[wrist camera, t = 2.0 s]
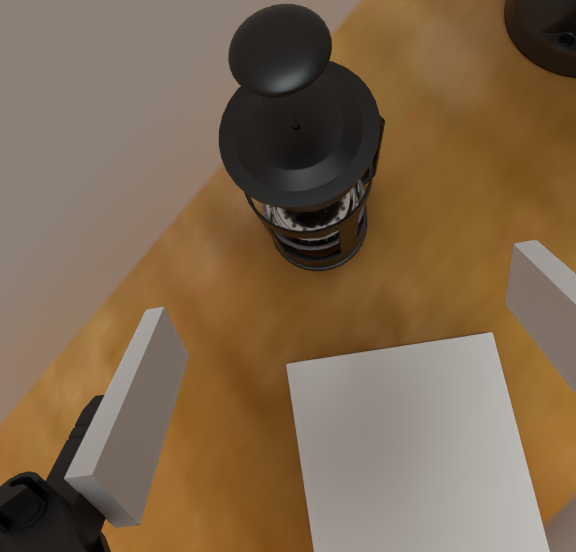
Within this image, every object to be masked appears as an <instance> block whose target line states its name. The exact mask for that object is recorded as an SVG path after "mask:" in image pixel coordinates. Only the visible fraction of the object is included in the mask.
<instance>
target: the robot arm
mask: <svg viewBox="0 0 576 552" xmlns="http://www.w3.org/2000/svg"><path fill="white" fill-rule="evenodd" d="M505 20H506V25H507V28H508V31H509V34H510V36H511V38H512V39H513V41H514V43H515V44H516V45H517V47H518V48H519V49H520V50H521V51H522V52H523V53H524V54H525V55H526V56H527V57H528V58H530V59H531V60H532V61H534V62H535V63H537V64H538V65H540V66H542V67H544V68H546V69H548V70H551V71H553V72H556V73H560V74H563V75H568V76H573V77H576V0H506V3H505ZM505 304H506V305H507V307H508V308H509V309H510V310H511V312H512V313H513V314H514V316H515V317H516V318H517V319H518V321H519V322H520V323H521V325H522V326H523V327H524V328H525V330H526V331H527V332H528V334H529V335H530V336H531V337H532V339H533V340H534V341H535V343H536V344H537V345H538V346H539V348H540V349H541V350H542V352H543V353H544V354H545V355H546V357H547V358H548V359H549V361H550V362H551V363H552V364H553V366H554V367H555V368H556V370H557V371H558V372H559V373H560V375H561V376H562V377H563V379H564V380H565V381H566V382H567V384H568V385H569V386H570V388H571V389H572V390H573V391H574V393H575V394H576V274H575V273H574V272H573V271H572V270H571V269H569V268H568V267H567V266H566V265H565V264H564V263H563V262H561V261H560V260H559V259H558V258H557V257H556V256H555V255H553V254H552V253H551V252H550V251H549V250H548V249H546V248H545V247H544V246H543V245H542V244H541V243H540V242H538V241H537V240H531V241H526V242H520V243H515V244H513V251H512V258H511V265H510V273H509V280H508V288H507V295H506V302H505ZM188 358H189V354H188V352H187V350H186V348H185V346H184V344H183V342H182V340H181V338H180V336H179V334H178V332H177V331H176V329H175V327H174V325H173V323H172V321H171V319H170V317H169V315H168V313H167V311H166V309H165V307H159V308H154V309H148V310H146V311H145V313H144V315H143V317H142V319H141V321H140V323H139V325H138V327H137V329H136V331H135V334H134V336H133V338H132V340H131V342H130V344H129V346H128V348H127V350H126V352H125V354H124V356H123V358H122V360H121V362H120V364H119V366H118V368H117V370H116V373H115V375H114V377H113V379H112V381H111V383H110V385H109V387H108V389H107V391H106V393H105V395H99V396H95V397H94V398H93V399H92V400H91V401H90V403H89V404H88V405H87V406H86V407H85V408H84V409H83V411H82V412H81V414H80V416H79V418H78V420H77V422H76V424H75V428H73V430H72V432H71V433H70V435H69V440H67V441H66V443H65V445H64V447H63V449H62V451H61V453H60V454H59V456H58V458H57V460H56V462H55V464H54V466H53V468H52V470H51V472H50V473H49V475H48V477H47V479H46V481H45V480H43V479H42V478H41V477H40V476H39V475H38V474H37V473H34V472H30V471H29V472H24V473H20V474H18V475H16V476H14V477H13V478H11V479H9V480H8V481H6V482H5V483H4V484H3V485H2V486H0V552H111V551H110V548H109V546H108V543H107V540H106V537H105V536H104V535H103V533H102V532H101V529H102V527H103V524H104V521H105V518H106V519H107V520H108V521H109V522H110V523H111V524H112V525H113V526H114V527H115V528H116V527H125V526H134V525H140V522H141V519H142V516H143V512H144V509H145V505H146V502H147V498H148V495H149V492H150V488H151V485H152V481H153V478H154V474H155V471H156V468H157V464H158V461H159V457H160V454H161V450H162V447H163V443H164V440H165V437H166V433H167V430H168V426H169V423H170V419H171V416H172V413H173V409H174V406H175V402H176V399H177V395H178V392H179V389H180V385H181V382H182V378H183V375H184V371H185V368H186V365H187V361H188Z"/></svg>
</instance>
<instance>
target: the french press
mask: <svg viewBox="0 0 576 552" xmlns="http://www.w3.org/2000/svg"><path fill="white" fill-rule="evenodd" d="M331 50H332V40H331V36H330V32H329V29H328V28H327V26H326V24H325V22H324V21H323V20H322V19H321V18H320V17H319V15H317V14H316V13H315V12H313V11H312V10H310V9H308V8H306V7H303V6H299V5H295V4H279V5H273V6H270V7H266V8H264V9H262V10H260V11H258V12H256V13H254V14H253V15H251V16H250V17H248V18H247V19H246V20H245V21H244V22H243V23H242V24H241V25H240V26H239V28H238V30H237V31H236V32H235V34H234V36H233V39H232V41H231V44H230V48H229V60H228V61H229V66H230V70H231V72H232V75H233V77H234V78H235V80H236V81H237V82H238V83H239V85H241V87H240V88H238V90H237V91H236V92H235V94H234V95H233V96H232V98H231V99H230V101H229V102H228V104H227V107H226V109H225V112H224V113H223V116H222V120H221V124H220V129H219V148H220V153H221V158H222V161H223V163H224V166H225V168H226V170H227V172H228V174H229V175H230V176H231V178H232V179H233V181H234V182H235V183H236V185H237V186H238V187H239V188H240V189H242V190H243V191H244V193H245V195H246V198H247V200H248V203H249V204H250V206H251V207H252V209H253V210H254V211H255V213H256V214H257V216H258V217H259V219H260V220H261V222H262V223H263V225H264V226H265V228H266V229H267V230H268V232H269V233H270V235H271V236H272V238H273V241H274V243H275V246H276V248H277V249H278V250H279V252H280V253H281V255H282V256H283V257H284V258H285V259H286V260H287V261H289V262H290V263H292V264H293V265H295V266H297V267H300V268H302V269H305V270H311V271H325V270H329V269H333V268H336V267H338V266H340V265H342V264H344V263H345V262H347V261H348V260H350V259H351V258H352V257H353V256H354V255H355V254H356V253H357V251H358V250H359V248H360V247H361V245H362V243H363V240H364V238H365V235H366V229H367V215H366V204H365V203H366V201H367V199H368V196H369V193H370V190H371V184H372V178H373V177H374V176H375V174H376V170H377V164H378V159H379V153H380V148H381V142H382V136H383V131H384V125H385V120H384V119H383V118H382V117H381V116H380V115H379V111H378V108H377V104H376V101H375V99H374V97H373V95H372V93H371V92H370V90H369V88H368V87H367V86H366V84H365V83H364V82H363V81H362V80H361V79H360V78H359V77H358V76H357V75H356V74H354V73H353V72H351V71H350V70H349V69H347V68H345V67H343V66H341V65H339V64H337V63H335V62H331V61H329V59H330V55H331ZM367 182H369V184H368V186H367V189H366V191H364V188H363V186H364V185H365V184H366V183H367ZM251 197H252V198H254V199H256V200H257V201H259V202H261V203H263V212H264V216H263V215H261V214H260V213H259V212H258V211H257V209H256V208H255V206H254V204H253V201H252V199H251ZM338 243H339V248H340V249H339V250H338V251H336V252H335V253H332V254H330V255H327V256H323V257H312V256H307V255H304V254H302V253H300V252H298V251H297V250H295V249H294V248H293V247H295V248H298V249H304V250H320V249H325V248H329V247H331V246H333V245H336V244H338Z"/></svg>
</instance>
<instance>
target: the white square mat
mask: <svg viewBox="0 0 576 552" xmlns="http://www.w3.org/2000/svg"><path fill="white" fill-rule="evenodd" d="M286 367H287V374H288V381H289V387H290V394H291V401H292V407H293V414H294V421H295V428H296V434H297V441H298V448H299V455H300V461H301V468H302V475H303V481H304V488H305V495H306V502H307V508H308V515H309V522H310V528H311V535H312V542H313V549H314V552H550V551H549V547H548V543H547V540H546V536H545V532H544V528H543V524H542V520H541V517H540V513H539V509H538V505H537V501H536V497H535V493H534V490H533V486H532V482H531V478H530V474H529V470H528V467H527V463H526V459H525V455H524V451H523V447H522V444H521V440H520V436H519V432H518V428H517V424H516V420H515V417H514V413H513V409H512V405H511V401H510V397H509V394H508V390H507V386H506V382H505V378H504V374H503V371H502V367H501V363H500V359H499V355H498V351H497V347H496V344H495V340H494V336H493V332H489V333H482V334H476V335H469V336H463V337H456V338H450V339H443V340H437V341H430V342H424V343H417V344H411V345H404V346H398V347H391V348H385V349H378V350H372V351H365V352H359V353H352V354H346V355H339V356H333V357H326V358H320V359H313V360H307V361H300V362H294V363H287V364H286Z"/></svg>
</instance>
